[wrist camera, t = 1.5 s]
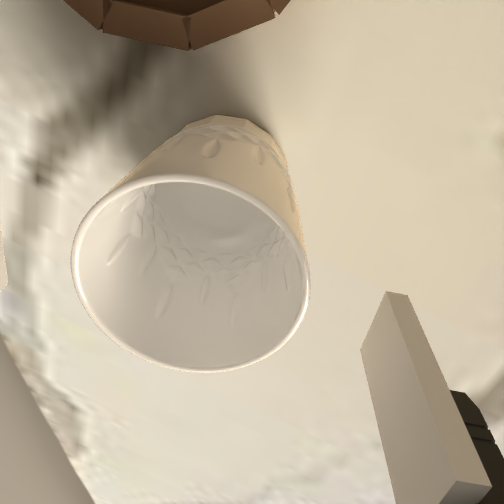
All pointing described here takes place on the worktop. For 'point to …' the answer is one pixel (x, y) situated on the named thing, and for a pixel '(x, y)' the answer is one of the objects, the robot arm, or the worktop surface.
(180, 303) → the white cup
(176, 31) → the ring tray
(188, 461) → the worktop surface
